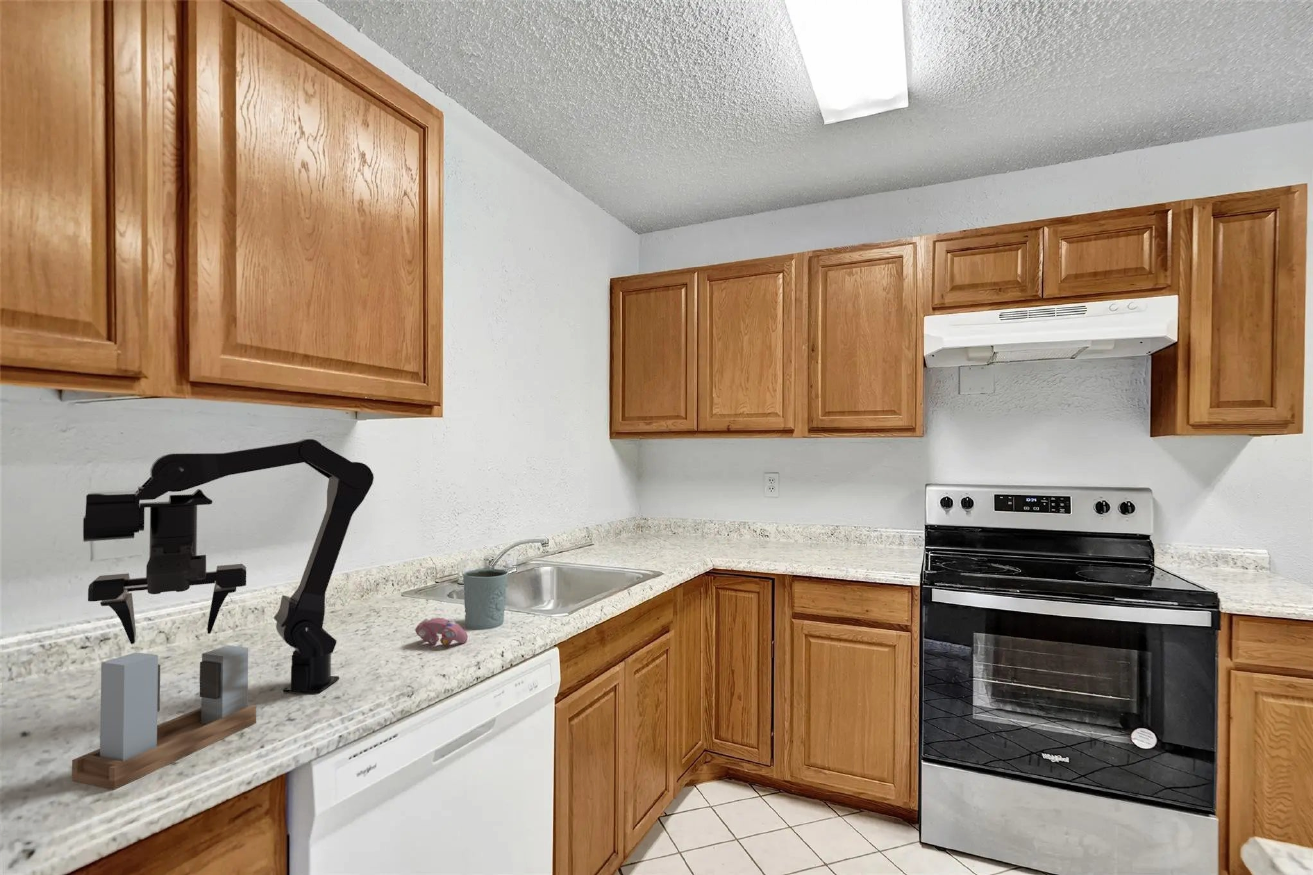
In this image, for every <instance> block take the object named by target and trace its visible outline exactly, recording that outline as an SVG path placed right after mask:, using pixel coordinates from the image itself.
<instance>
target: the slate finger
mask: <svg viewBox="0 0 1313 875" xmlns="http://www.w3.org/2000/svg"><path fill="white" fill-rule="evenodd" d="M100 666H101V667H100V668H101V669H100V722H99V723H100V725H99V727H100V728H99V749H100V757H103V758H108V759H113V760H118V761H125V760H127V759H130V758H132V757H134V756H136V755H139V754H141V753H143V752H146V751H148V750H150V749H152V748H155V747H157V725H158V712H160V709H161V708H160V707H161V664H159V655H158V654H152V653H144V652H137V651H136V652H132V653H127V654H125V655H122V656H118V657H114V658H111V659H107V660H105V661H101V664H100Z"/></svg>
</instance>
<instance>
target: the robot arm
mask: <svg viewBox="0 0 1313 875" xmlns="http://www.w3.org/2000/svg"><path fill="white" fill-rule="evenodd" d="M301 463H302V464H303V463H305V464H306V465H307V466H309V467H311V468H312V469H313V470H315V471H317V472H318V473H319V474H321V475H322V476H323V477H325V478H327V479H328V482H327V490H326V510H325V512H324V515H323V518H322V520H321V522H320V523H321V524H320V526H319V530H318V533H317V534H316V538H315V540H314V543H313V546H312V549H311V552H310V554H309V557H308V560H307V562H306V565H305V568H304V572H303V573H302V577H301V580H300V582H299V585H298V587H297V589H295V591H294V593H293V594H292V595H291V596H287V595H285V594H284V595H281V599H280V605H279V608H278V611H277V613H276V614H275V615H274V616H273V619H274V621H275V622H276V625H275V628H276V632H277V633H278V635H279V636H280V637H281V639H282V640H283V641H284V642H285V643H286V644H287V645H288V646H289V647H292V648H293V649H294V651H292V655H291V667H290V684H288V685H287V686H285V687H283V688H282V689H281V690H282V692H283V693H305V694H306V693H309V694H313V693H315V694H316V693H318V694H319V693H321V692H322V691H324V690H326V689H327V688H328V687H330V686H331V685H333V684H334V683H335V682H338V681H339V680H340V676H339V675H332V670H331V669H332V654H333V652H334V651H335V647H336V645H337V639H335V638H334V636H333V635H331V634H330V633H329V632H328V631H327V630H325V629H324V628H323V627H324V620H325V614H326V613H325V612H326V592H327V589H328V586H329V583H330V580H331V578H332V575H333V572H334V569H335V565H336V563H337V560H338V557H339V554H340V551H341V549H342V546H343V543H344V540H345V538H346V534H347V531H348V529H349V526H350V523H351V520H352V517H353V515H354V513H355V512H356V511H357V509H358V508H359V507H360V506H361V504H362V503H363V502H364V500H365V498H366V496H367V495H368V493H369V491H370V489H371V487H372V485H373V484H374V480H375V479H374V478H375V477H374V473H373V471H372V469H371V468H370V466H368V465H367V464H366V463H363V462H360V461H359V462H358V461H351V460H349V459H348V458H346V457H345V456H343V455H341V454H339V453H337V452H335V451H334V450H332V449H330V448H328V447H326V446H325V445H323V444H322V443H321V442H320V441H318V440H316V439H314V438H311V439H310V438H308V439H307V438H306V439H304V438H303V439H301V440H298V441H294V442H286V443H280V444H275V445H269V446H268V445H267V446H261V447H255V448H248V449H241V450H240V449H239V450H236V451H235V450H234V451H228V452H222V453H221V452H220V453H219V452H218V453H217V452H216V453H215V452H214V453H213V452H212V453H209V452H206V453H205V452H203V453H201V452H200V453H197V452H196V453H192V452H191V453H169V454H168V453H167V454H164V455H162V456H160V457H158V458H157V459H155V461H153V463H152V464H151V467H150V471H149V472H150V477H148V479H146V481H145V482H144V483H143V484H142V485H141V486H138V487H137V490H136V491H135V492H134V493H113V494H112V493H111V494H110V493H109V494H105V493H87V495H86V496H85V499H86V500H85V513H84V514H85V515H83V519H82V522H83V524H82V536H83V538H82V540H83V543H85V542H87V543H88V542H95V541H96V542H100V541H111V540H113V541H114V540H115V541H116V540H125V539H127V540H128V539H129V540H130V539H135V533H140V531H141V532H142V531H143V532H144V531H145V510H146V509H145V508H149V554H148V555H149V558H148V561H147V563H146V569H145V570H146V571H145V572H146V574H145V576H146V577H138V578H137V577H136V578H135V577H134V578H131V577H130V574H129V573H116V574H105V575H104V574H103V575H99V576H98V577H96V578H95V579H94V580H92V582H91V583H90V584H89V585H88V590H87V602H100V606H101V607H107V606H108V607H110V608H111V609H112V610H113V612H114V613H115V614H116V615H117V617H118V619H119V620H120V622H121V624H122V627H123V629H124V631H125V633H126V635H127V639H128V640H129V643H130V644H131V645H134V644H135V643H136V635H137V634H136V633H137V630H136V620H135V611H134V603H133V602H134V601H133V593H132V592H137V591H138V592H139V591H147V593H148V594H150V595H160V594H161V593H167V592H168V593H169V592H170V593H171V592H176V593H180V592H186V591H187V590H189V589H190V587H192V586H199V585H201V586H202V585H210V584H214V587H213V588H214V589H213V592H212V599H211V604H210V609H209V614H208V621H207V634H208V635H209V634H211V633H212V630H213V628H214V625H215V622H216V620H217V617H218V615H219V611H220V609H221V607H222V606H223V603H224V602H225V600H226V598H227V597H228V596H229V594H232V593H236V592H237V588H239V587H245V586H247V567H246V566H245V565H244V564H243V563H237V564H225V565H217V566H216V570H214V571H207V555H206V554H201V555H200V554H199V555H198V554H197V549H198V548H197V546H198V544H197V543H198V533H197V532H198V506H202V505H203V506H204V505H212V504H213V502H214V501H213V500H212V499H211V498H209V497H207V495H205V494H204V493H203V492H204V491H202V489H200V488H198V489H196V490H195V491H194V492H193V493H191V494H170V495H169V496H168V500H167V501H156V502H140V501H147V500H148V501H150V500H152V501H153V500H156V499H158V498H160V497H161V496H163V495H165V494H166V493H168V492H170V493H173V492H174V493H176V492H183V491H186V490H190V489H193V488H196V487H198V486H201V485H204V484H209V483H210V482H214V481H215V480H219V479H221V478H225V477H228V476H231V475H238V474H244V473H249V472H256V471H262V470H267V469H273V468H279V467H280V468H281V467H284V466H291V465H296V464H301Z"/></svg>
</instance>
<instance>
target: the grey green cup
mask: <svg viewBox="0 0 1313 875" xmlns="http://www.w3.org/2000/svg"><path fill="white" fill-rule="evenodd" d="M462 575H463V590H464V593H463V595H464V597H463V600H464V602H463V603H464V612H465V615H464V620H465V621H464V622H465V624H464V625H465V627H467V628H468V629H471V630H488V629H489V630H490V629H494V628H498V627H501V626H503V624H504V620H505V610H506V609H505V608H506V598H507V588H508V579H509V571H508V570H504V569H499V568H480V569H479V568H478V569H471V570H467V571H464V573H463V574H462Z"/></svg>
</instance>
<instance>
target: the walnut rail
mask: <svg viewBox="0 0 1313 875" xmlns="http://www.w3.org/2000/svg"><path fill="white" fill-rule="evenodd" d="M248 687H249V647H245V646H238V645H237V646H236V645H224V646H221V647H218V648H215V649H213V650H209V651H205V652H203V653H202V654H201V661H199V698H201V701H200V703H201V704H200V706H201V707H199V708H197V709H194V710H191V711H190V712H187V713H184V714H182V715H180V716H177V717H175V718H172V719H169V720H167V721H165V722H162V723H159V724H157V747H155V748H152V749H150V750H148V751H146V752H143V753H141V754H139V755H136V756H134V757H132V758H130V759H127V760H125V761H118V760H113V759H108V758H103V757H100V748H98V749H95V750H94V751H91V752H88V753H86V754H84V755H81V756H78V757H75V758H73V759H72V760H71V781H73V782H78V783H81V784H87V785H90V786H91V785H92V786H96V787H101V788H105V789H111V790H114V791H115V790H116V789H119V788H121V787H123V786H125V785H127V784H129V783H132V782H133V781H135V780H138V779H140V778H142V777H145V776H146V775H148V774H150V773H153V772H155V771H157V770H160V769H161V768H163V767H165V766H167V765H169V764H171V763H174V762H176V761H178V760H180V759H182V758H185V757H187V756H189V755H191V754H193V753H195V752H197V751H199V750H202V749H203V748H206V747H208V746H210V745H213V744H214V743H217V742H218V741H222V740H223V739H225V738H227V737H229V736H231V735H233V734H235V733H238V732H240V731H242V730H244V729H246V728H248V727H251V726H252V725H255V724H257V706H256V705H252V704H251V705H249V706H248V702H249V701H248V700H249V699H248V698H249V697H248V696H249V688H248Z"/></svg>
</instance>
